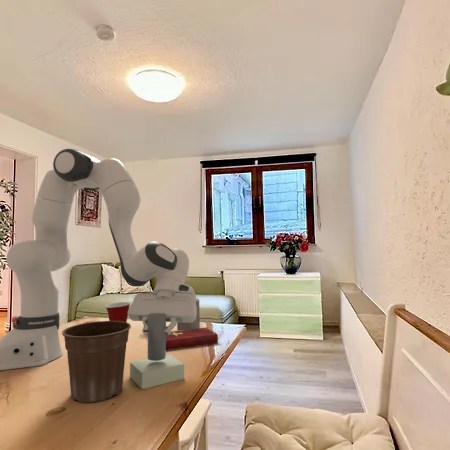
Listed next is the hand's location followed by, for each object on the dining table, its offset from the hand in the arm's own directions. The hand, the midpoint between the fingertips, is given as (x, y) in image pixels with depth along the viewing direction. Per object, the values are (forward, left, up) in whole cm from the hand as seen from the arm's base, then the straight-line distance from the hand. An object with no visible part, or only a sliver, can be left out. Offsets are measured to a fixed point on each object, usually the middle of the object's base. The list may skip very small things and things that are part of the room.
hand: (156, 333), depth 93 cm
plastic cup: (+6, +60, -13) cm, 62 cm away
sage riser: (0, 0, -12) cm, 12 cm away
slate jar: (0, +1, -7) cm, 7 cm away
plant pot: (-16, 0, -13) cm, 20 cm away
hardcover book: (+23, +27, -13) cm, 38 cm away
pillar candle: (+31, +41, -13) cm, 54 cm away
